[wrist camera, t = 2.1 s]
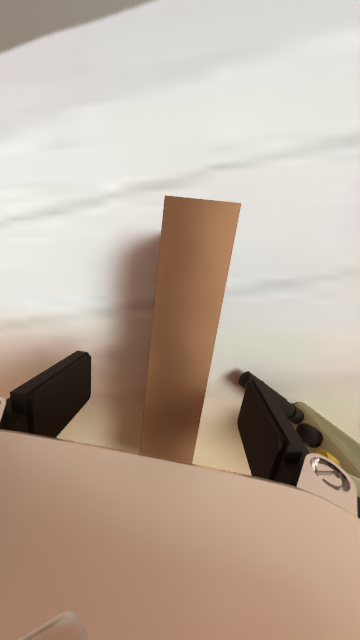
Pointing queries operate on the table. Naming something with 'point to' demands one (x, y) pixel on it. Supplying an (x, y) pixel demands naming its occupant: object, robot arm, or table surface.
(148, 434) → the walnut bar
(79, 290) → the table surface
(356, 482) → the handheld radio
